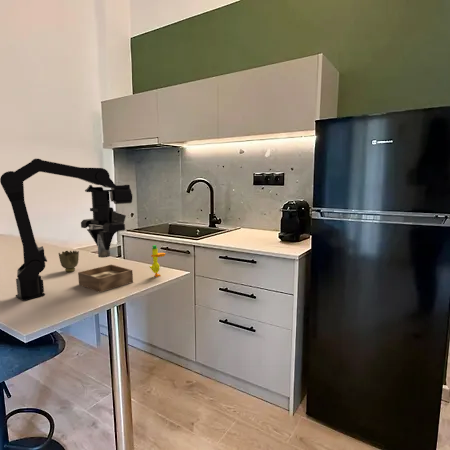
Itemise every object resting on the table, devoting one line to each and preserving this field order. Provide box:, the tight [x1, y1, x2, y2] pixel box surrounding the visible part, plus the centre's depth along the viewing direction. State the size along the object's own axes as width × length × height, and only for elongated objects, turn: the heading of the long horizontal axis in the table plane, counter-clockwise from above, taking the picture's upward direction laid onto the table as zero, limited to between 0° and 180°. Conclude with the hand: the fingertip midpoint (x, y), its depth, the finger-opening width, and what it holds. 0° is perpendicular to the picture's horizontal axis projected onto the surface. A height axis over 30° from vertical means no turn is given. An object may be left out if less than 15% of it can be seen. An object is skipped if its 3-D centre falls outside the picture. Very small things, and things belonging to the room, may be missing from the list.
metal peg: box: [96, 233, 111, 258], centre depth 116 cm, size 4×4×8 cm
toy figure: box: [148, 245, 167, 278], centre depth 125 cm, size 7×4×12 cm, turn 119°
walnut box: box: [77, 264, 134, 293], centre depth 117 cm, size 13×13×4 cm
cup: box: [58, 250, 80, 273], centre depth 133 cm, size 8×7×8 cm
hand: (103, 249), depth 116 cm, fingers closed on metal peg, 4 cm apart
